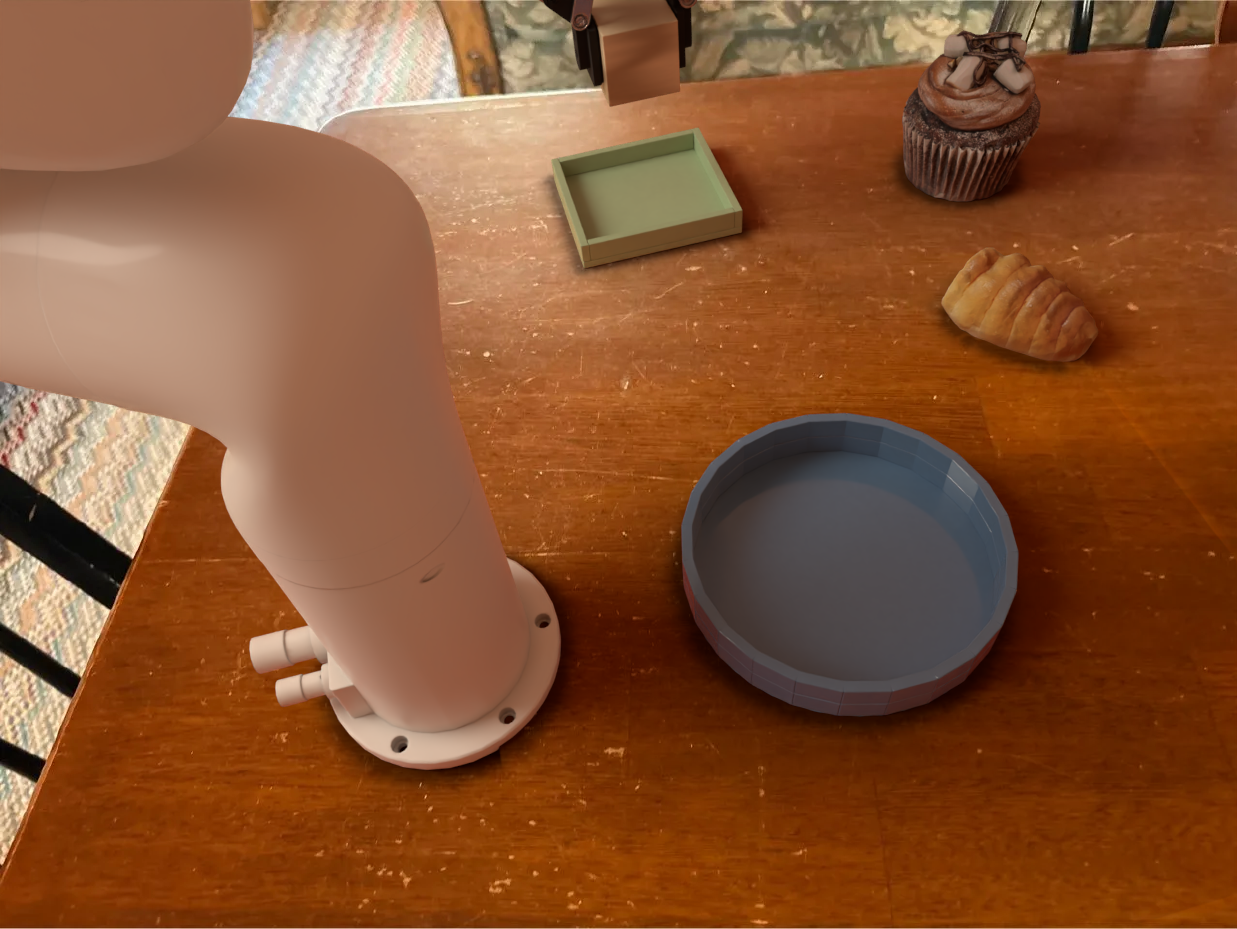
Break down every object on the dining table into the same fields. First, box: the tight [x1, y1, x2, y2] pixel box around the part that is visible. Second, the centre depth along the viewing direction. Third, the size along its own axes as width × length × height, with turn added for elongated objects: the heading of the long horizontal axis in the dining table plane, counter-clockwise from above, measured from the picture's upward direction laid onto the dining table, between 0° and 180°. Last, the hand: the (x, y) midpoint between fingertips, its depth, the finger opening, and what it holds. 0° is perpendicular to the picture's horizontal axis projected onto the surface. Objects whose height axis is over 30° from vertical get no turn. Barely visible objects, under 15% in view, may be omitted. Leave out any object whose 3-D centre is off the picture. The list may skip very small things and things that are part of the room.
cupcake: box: [901, 30, 1042, 202], centre depth 69 cm, size 10×10×10 cm
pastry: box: [941, 246, 1099, 363], centre depth 61 cm, size 9×7×4 cm
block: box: [591, 0, 681, 108], centre depth 63 cm, size 5×5×5 cm
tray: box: [550, 126, 744, 269], centre depth 72 cm, size 12×11×2 cm
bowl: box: [680, 412, 1020, 717], centre depth 51 cm, size 17×17×4 cm
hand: (634, 64), depth 64 cm, fingers closed on block, 5 cm apart
